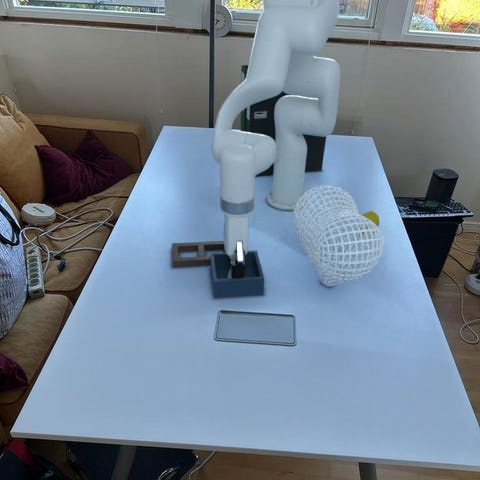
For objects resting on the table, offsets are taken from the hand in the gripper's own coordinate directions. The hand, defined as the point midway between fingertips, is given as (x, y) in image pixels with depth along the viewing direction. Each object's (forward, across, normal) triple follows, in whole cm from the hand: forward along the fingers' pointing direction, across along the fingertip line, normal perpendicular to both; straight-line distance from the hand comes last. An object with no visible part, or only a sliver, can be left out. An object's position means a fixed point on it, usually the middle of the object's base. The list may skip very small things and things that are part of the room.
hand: (236, 268), depth 115 cm
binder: (+4, -67, +24) cm, 71 cm away
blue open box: (+4, 0, 0) cm, 4 cm away
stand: (+4, -12, -8) cm, 15 cm away
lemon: (+4, -18, +40) cm, 44 cm away
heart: (+4, +3, +23) cm, 23 cm away
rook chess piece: (+4, 0, 0) cm, 4 cm away
